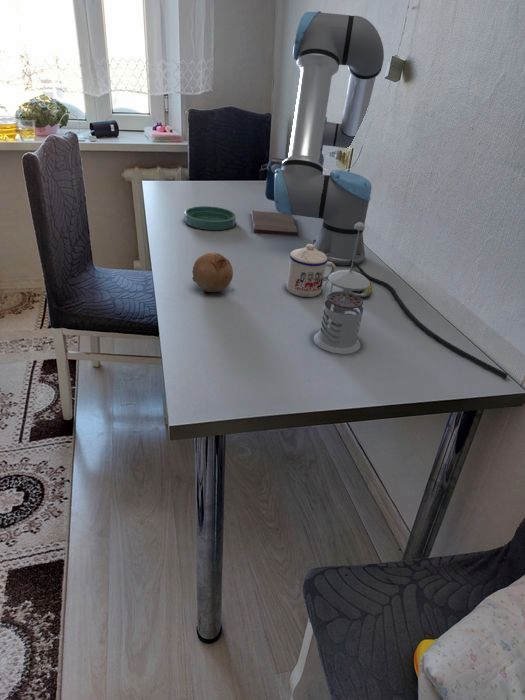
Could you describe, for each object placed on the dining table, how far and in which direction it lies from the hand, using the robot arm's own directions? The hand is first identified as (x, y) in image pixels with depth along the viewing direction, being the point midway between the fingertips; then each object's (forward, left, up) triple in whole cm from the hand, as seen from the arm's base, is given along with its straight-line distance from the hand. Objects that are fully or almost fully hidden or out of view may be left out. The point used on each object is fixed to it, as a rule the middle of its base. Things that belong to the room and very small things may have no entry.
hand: (270, 177), depth 155 cm
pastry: (-46, -20, -15) cm, 52 cm away
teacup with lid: (-47, -8, -16) cm, 50 cm away
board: (+4, -3, -16) cm, 17 cm away
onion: (-50, +16, -16) cm, 55 cm away
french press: (-71, -10, -16) cm, 73 cm away
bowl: (+1, +18, -16) cm, 24 cm away
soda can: (+4, -2, -8) cm, 9 cm away
